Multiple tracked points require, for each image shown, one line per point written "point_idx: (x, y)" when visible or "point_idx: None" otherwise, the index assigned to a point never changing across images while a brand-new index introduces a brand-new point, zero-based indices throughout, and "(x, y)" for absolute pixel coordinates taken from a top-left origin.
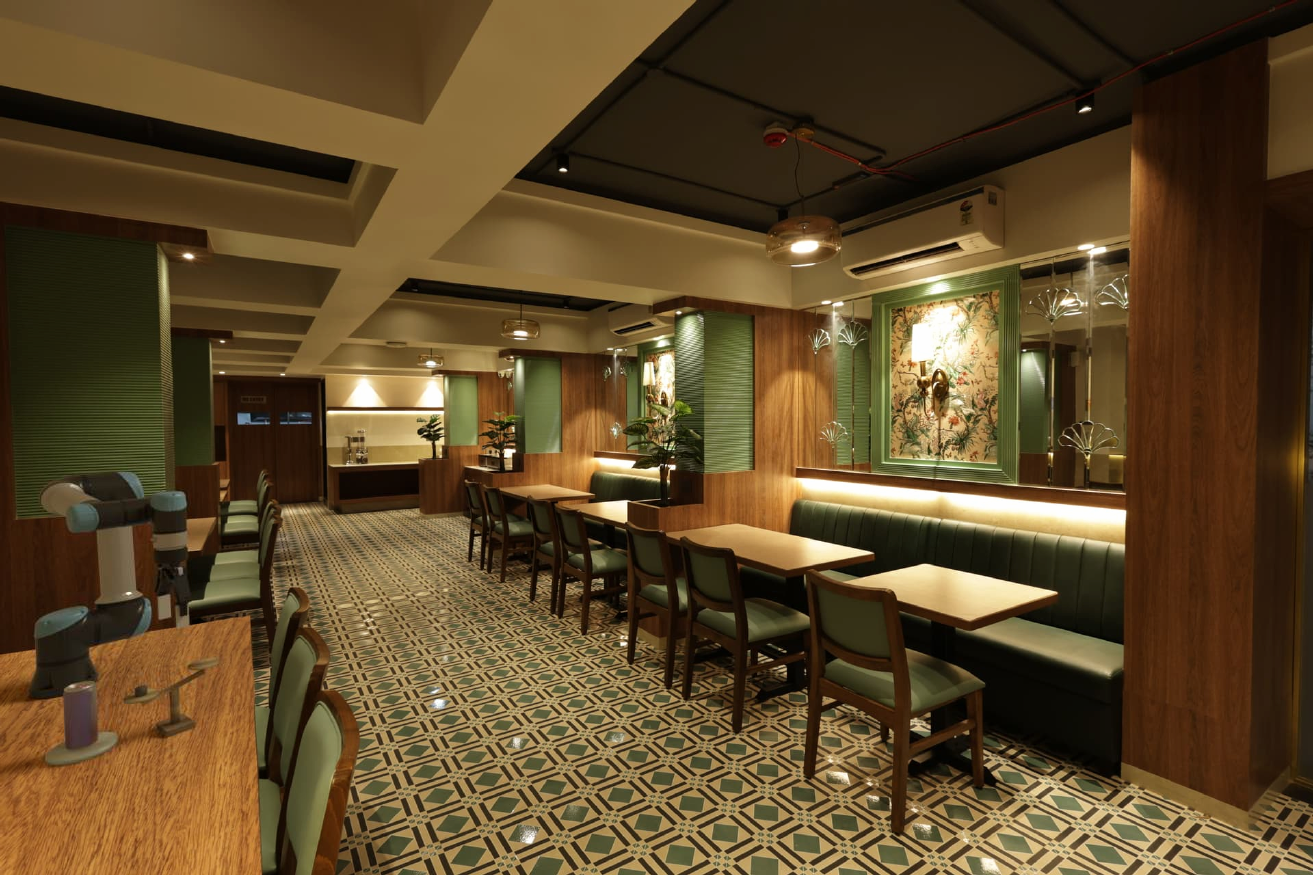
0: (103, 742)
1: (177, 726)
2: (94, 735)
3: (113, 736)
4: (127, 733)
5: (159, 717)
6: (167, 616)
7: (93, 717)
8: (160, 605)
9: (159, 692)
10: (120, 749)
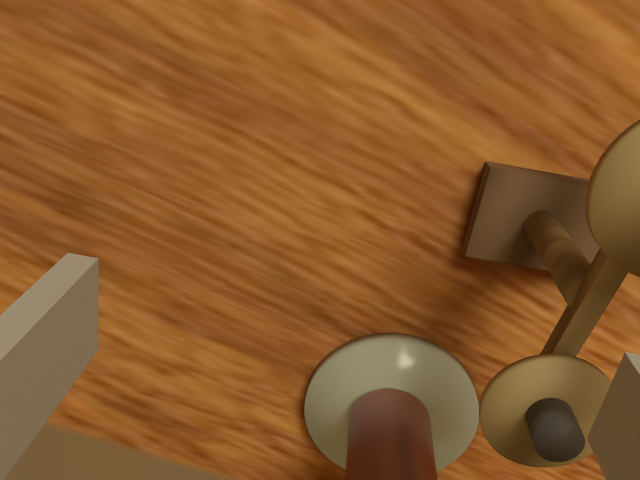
0: (433, 384)
1: (586, 240)
2: (428, 424)
3: (418, 355)
4: (400, 303)
5: (373, 193)
6: (93, 296)
7: (434, 474)
8: (12, 448)
9: (566, 348)
10: (503, 364)
